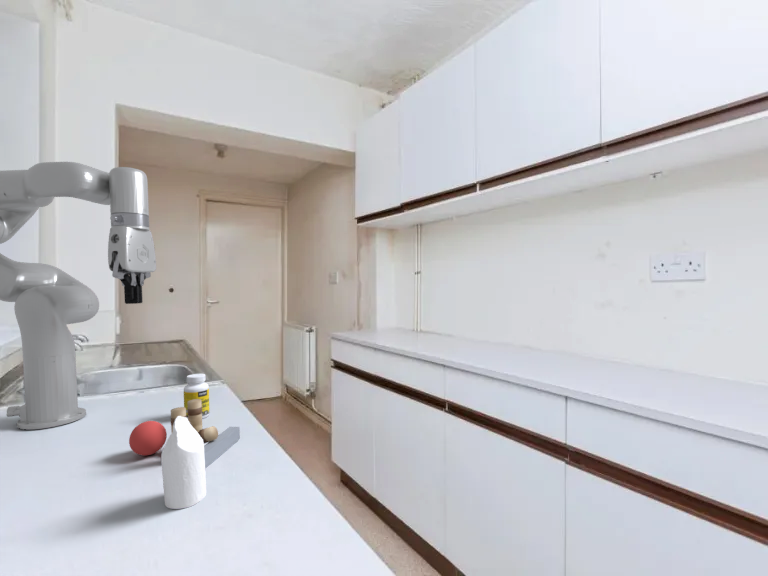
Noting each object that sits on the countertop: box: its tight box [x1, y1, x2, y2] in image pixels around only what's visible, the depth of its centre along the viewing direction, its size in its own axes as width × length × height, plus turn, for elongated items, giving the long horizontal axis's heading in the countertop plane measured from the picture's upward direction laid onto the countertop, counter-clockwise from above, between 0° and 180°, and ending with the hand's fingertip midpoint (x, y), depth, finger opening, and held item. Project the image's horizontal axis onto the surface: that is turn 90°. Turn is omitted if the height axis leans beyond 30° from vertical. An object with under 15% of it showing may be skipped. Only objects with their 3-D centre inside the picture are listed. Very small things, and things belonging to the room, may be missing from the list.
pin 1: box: [170, 406, 187, 433], centre depth 73 cm, size 2×2×9 cm
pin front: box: [197, 425, 219, 444], centre depth 75 cm, size 2×2×9 cm
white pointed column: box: [160, 416, 207, 510], centre depth 59 cm, size 6×12×6 cm
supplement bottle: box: [183, 373, 210, 420], centre depth 96 cm, size 5×5×10 cm
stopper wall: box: [204, 426, 241, 469], centre depth 75 cm, size 2×14×2 cm, turn 173°
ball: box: [128, 420, 168, 457], centre depth 75 cm, size 6×6×6 cm
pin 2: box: [187, 399, 204, 431], centre depth 78 cm, size 2×2×9 cm
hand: (133, 303), depth 94 cm, fingers closed
